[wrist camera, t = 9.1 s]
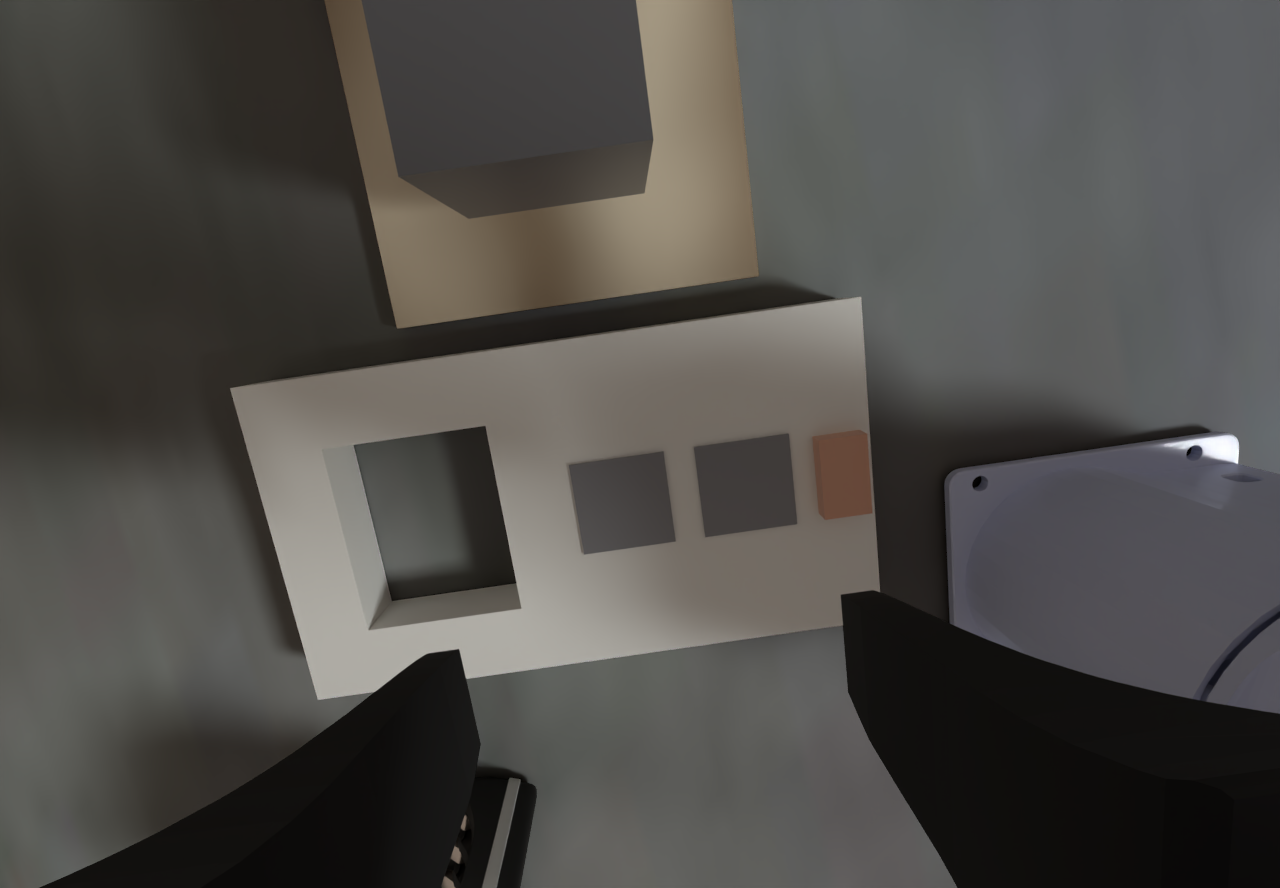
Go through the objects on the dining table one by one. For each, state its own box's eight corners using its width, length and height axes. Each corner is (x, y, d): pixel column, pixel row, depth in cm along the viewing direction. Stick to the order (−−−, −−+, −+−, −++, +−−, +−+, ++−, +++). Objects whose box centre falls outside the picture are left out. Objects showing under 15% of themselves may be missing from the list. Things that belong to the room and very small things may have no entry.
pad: (713, -137, 17) (716, -153, 16) (754, 277, 19) (758, 276, 19) (315, -77, 17) (304, -91, 16) (404, 328, 19) (396, 328, 19)
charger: (610, -22, 17) (601, -278, 10) (641, 209, 18) (653, 139, 11) (447, 2, 17) (312, -235, 10) (489, 231, 18) (398, 176, 11)
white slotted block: (837, 298, 19) (869, 296, 17) (858, 591, 21) (890, 629, 19) (269, 380, 19) (216, 390, 17) (345, 664, 22) (308, 711, 19)
